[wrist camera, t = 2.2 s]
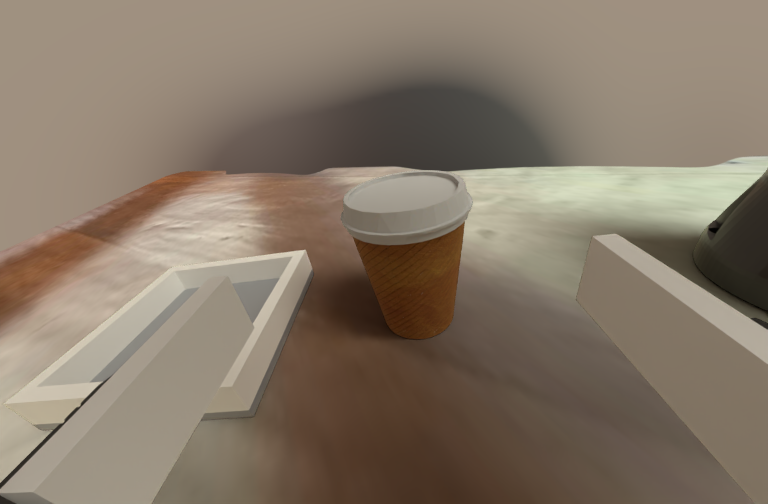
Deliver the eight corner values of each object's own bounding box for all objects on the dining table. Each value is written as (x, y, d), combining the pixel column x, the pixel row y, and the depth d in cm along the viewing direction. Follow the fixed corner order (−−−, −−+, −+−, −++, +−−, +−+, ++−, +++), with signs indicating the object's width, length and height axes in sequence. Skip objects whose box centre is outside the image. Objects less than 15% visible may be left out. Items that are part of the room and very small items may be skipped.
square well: (314, 273, 35) (305, 249, 33) (253, 416, 20) (232, 386, 18) (186, 289, 36) (171, 267, 35) (41, 430, 21) (2, 404, 20)
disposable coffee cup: (370, 365, 22) (331, 228, 16) (366, 290, 30) (340, 181, 24) (490, 344, 22) (497, 197, 16) (453, 275, 30) (449, 161, 24)
